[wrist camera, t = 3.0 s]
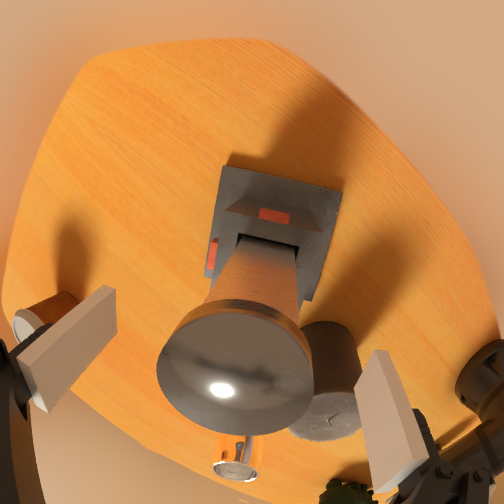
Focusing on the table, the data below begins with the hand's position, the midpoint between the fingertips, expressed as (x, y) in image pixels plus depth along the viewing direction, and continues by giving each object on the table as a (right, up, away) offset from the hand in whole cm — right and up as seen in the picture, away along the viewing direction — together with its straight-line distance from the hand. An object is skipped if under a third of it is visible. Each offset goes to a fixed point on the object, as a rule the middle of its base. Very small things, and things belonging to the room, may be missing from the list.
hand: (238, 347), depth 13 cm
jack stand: (+3, +7, +22) cm, 23 cm away
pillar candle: (+11, -10, +26) cm, 30 cm away
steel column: (+3, +6, +20) cm, 21 cm away
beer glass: (0, -21, +31) cm, 38 cm away
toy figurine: (+26, -57, +39) cm, 74 cm away
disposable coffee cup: (-32, -6, +30) cm, 45 cm away
